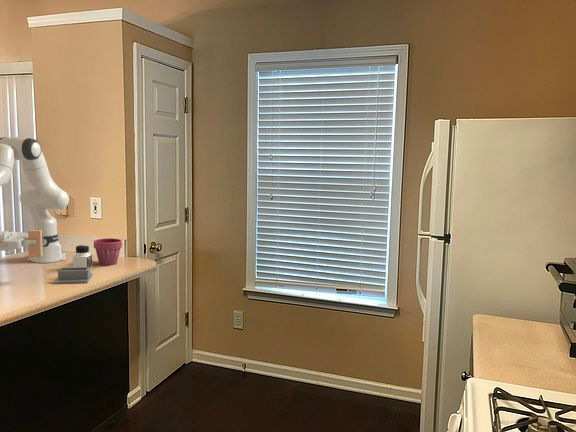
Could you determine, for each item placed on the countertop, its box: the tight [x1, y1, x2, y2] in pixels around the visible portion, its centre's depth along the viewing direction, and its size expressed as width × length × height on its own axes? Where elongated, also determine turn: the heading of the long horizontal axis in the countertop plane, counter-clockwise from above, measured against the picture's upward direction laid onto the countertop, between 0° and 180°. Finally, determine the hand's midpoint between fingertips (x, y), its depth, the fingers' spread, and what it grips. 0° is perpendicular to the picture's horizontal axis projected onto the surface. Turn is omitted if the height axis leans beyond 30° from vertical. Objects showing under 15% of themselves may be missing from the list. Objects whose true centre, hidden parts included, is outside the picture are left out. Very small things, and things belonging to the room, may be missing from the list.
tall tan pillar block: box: [27, 229, 43, 258], centre depth 209 cm, size 3×5×12 cm, turn 104°
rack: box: [53, 266, 93, 285], centre depth 214 cm, size 14×14×5 cm
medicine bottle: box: [72, 244, 93, 268], centre depth 234 cm, size 7×7×12 cm
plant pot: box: [93, 237, 123, 266], centre depth 246 cm, size 14×14×13 cm
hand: (37, 240), depth 209 cm, fingers closed on tall tan pillar block, 3 cm apart
